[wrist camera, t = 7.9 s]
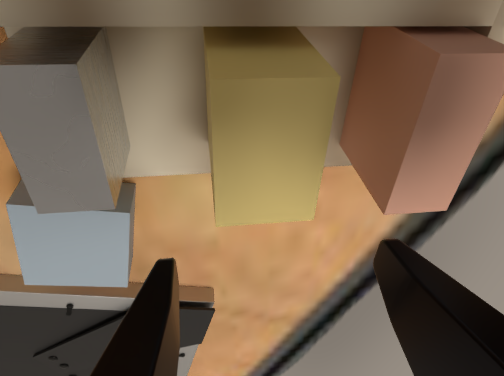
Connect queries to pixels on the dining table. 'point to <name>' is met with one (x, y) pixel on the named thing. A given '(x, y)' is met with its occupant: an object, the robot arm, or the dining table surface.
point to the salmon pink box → (420, 111)
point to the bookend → (64, 117)
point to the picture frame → (81, 325)
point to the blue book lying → (74, 242)
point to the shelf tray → (193, 60)
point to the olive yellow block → (266, 122)
